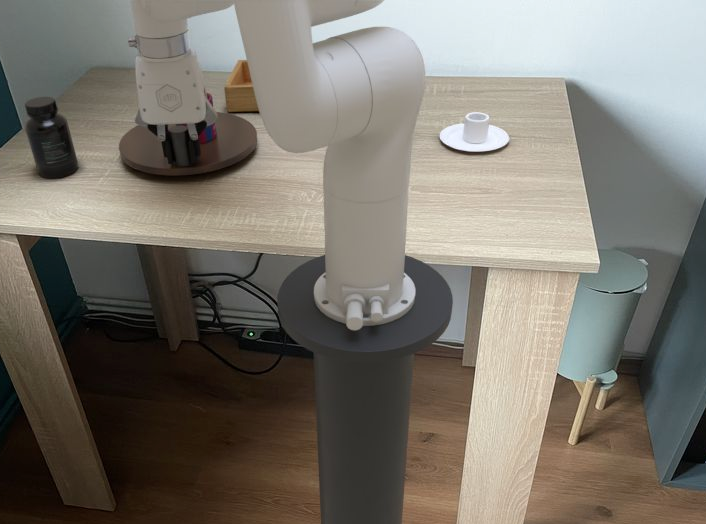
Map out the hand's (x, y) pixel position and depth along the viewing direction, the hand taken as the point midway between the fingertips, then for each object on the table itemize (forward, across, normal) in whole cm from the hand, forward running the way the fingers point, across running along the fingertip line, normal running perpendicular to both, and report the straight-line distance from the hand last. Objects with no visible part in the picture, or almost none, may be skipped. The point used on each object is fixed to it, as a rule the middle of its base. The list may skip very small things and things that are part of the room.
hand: (183, 159), depth 119 cm
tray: (+3, +20, +34) cm, 39 cm away
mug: (+1, -1, +10) cm, 10 cm away
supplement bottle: (+3, -23, +4) cm, 24 cm away
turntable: (+2, -1, +10) cm, 10 cm away
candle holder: (+4, +49, +12) cm, 51 cm away
